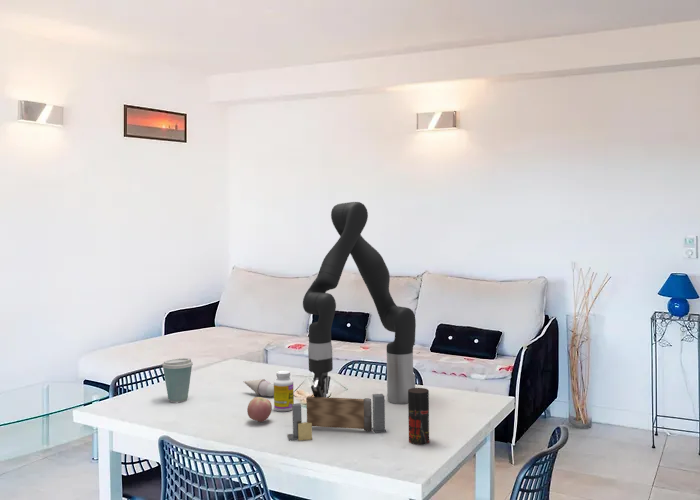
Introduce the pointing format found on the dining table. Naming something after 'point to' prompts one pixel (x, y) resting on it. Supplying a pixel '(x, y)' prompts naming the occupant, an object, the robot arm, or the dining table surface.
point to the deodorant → (418, 416)
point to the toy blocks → (299, 425)
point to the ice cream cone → (261, 387)
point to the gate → (339, 412)
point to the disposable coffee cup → (177, 378)
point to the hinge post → (378, 413)
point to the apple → (259, 409)
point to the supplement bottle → (283, 392)
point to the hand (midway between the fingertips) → (321, 409)
